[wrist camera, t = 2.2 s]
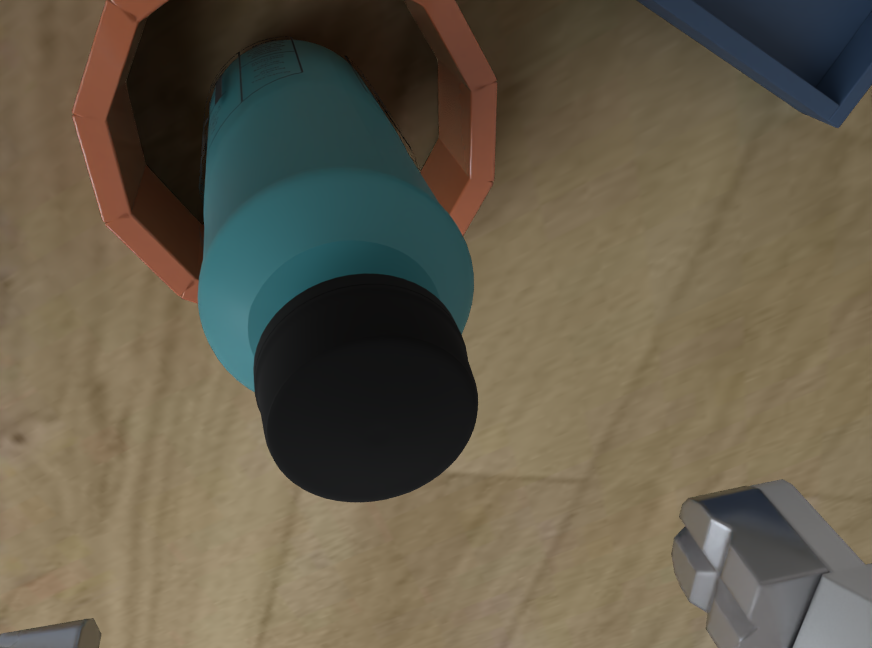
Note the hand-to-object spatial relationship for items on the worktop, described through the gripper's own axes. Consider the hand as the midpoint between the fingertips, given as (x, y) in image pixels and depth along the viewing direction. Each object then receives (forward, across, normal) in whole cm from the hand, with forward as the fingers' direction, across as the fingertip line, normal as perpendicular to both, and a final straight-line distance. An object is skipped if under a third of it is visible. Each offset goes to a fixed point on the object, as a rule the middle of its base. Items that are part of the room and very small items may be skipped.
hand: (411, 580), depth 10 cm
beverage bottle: (+23, 0, 0) cm, 23 cm away
